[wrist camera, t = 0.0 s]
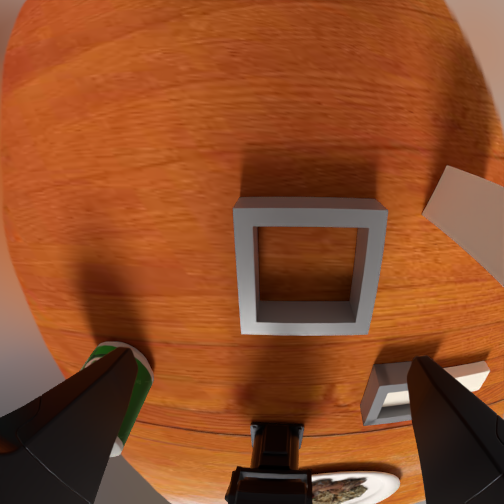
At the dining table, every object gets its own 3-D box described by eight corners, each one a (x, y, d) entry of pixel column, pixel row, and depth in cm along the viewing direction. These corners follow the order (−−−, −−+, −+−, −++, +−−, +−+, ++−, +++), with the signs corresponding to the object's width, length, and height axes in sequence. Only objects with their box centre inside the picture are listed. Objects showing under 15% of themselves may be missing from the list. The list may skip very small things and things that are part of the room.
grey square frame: (360, 312, 24) (367, 334, 22) (246, 311, 25) (241, 334, 23) (375, 198, 20) (388, 210, 18) (239, 197, 21) (232, 208, 19)
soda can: (136, 332, 28) (81, 421, 17) (168, 382, 31) (133, 469, 20) (88, 338, 30) (34, 411, 19) (120, 383, 32) (81, 456, 22)
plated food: (399, 493, 44) (400, 505, 41) (277, 514, 52) (276, 524, 49) (397, 446, 34) (400, 464, 31) (221, 474, 42) (218, 489, 38)
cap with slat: (468, 389, 28) (476, 405, 25) (360, 405, 29) (363, 425, 27) (490, 349, 25) (500, 365, 22) (373, 364, 27) (379, 386, 24)
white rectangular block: (458, 238, 21) (551, 331, 9) (421, 214, 20) (523, 307, 8) (482, 193, 19) (592, 260, 7) (446, 165, 18) (570, 220, 7)
